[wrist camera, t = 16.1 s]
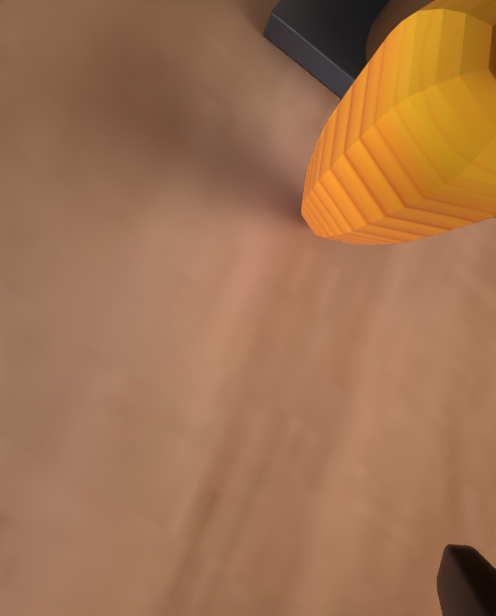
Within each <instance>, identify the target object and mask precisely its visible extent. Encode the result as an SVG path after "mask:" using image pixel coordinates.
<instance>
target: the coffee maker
mask: <svg viewBox="0 0 496 616" xmlns="http://www.w3.org/2000/svg"><path fill="white" fill-rule="evenodd" d="M433 1H435V0H280V2H279V3H278V4H277V6H276V7H275V8H274V10H273V11H272V12H271V15H270V18H269V20H268V23H267V26H266V29H265V31H264V36H265V37H266V38H268V39H269V40H270V41H271V42H273V43H274V44H275V45H276V46H278V47H279V48H280V49H281V50H283V51H284V52H285V53H286V54H287V55H289V56H290V57H291V58H292V59H294V60H295V61H296V62H297V63H299V64H300V65H301V66H302V67H304V68H305V69H306V70H307V71H309V72H310V73H311V74H312V75H314V76H315V77H316V78H317V79H319V80H320V81H321V82H322V83H323V84H325V85H326V86H327V87H328V88H330V89H331V90H332V91H333V92H335V93H336V94H337V95H338V96H340V97H341V98H342V99H343V97H344V96H345V94H346V93H347V91H348V90H349V88H350V87H351V85H352V84H353V83H354V81H355V80H356V79H357V77H358V76H359V74H360V73H361V72H362V70H363V69H364V68H365V66H366V65H367V64H368V62H369V61H370V60H371V58H372V57H373V55H374V54H375V53H376V51H377V50H378V49H379V47H380V46H381V45H382V43H383V42H384V41H385V39H386V38H387V37H388V35H389V34H390V33H391V32H392V31H393V30H394V29H395V28H396V27H397V26H398V25H399V24H400V23H401V22H402V21H403V20H405V19H406V18H408V17H409V16H411V15H412V14H414V13H415V12H417V11H419V10H420V9H422V8H423V7H425V6H427V5H428V4H430V3H431V2H433Z"/></svg>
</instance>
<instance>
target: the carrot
mask: <svg viewBox="0 0 496 616" xmlns="http://www.w3.org/2000/svg"><path fill="white" fill-rule="evenodd" d="M301 215H302V216H303V218H304V219H305V221H306V222H307V223H308V225H309V226H310V228H311V229H312V231H313V232H314V234H315V235H317V236H320V237H322V238H327V239H332V240H337V241H341V242H346V243H351V244H356V245H379V244H392V243H404V242H409V241H413V240H417V239H421V238H425V237H428V236H432V235H436V234H440V233H444V232H447V231H451V230H454V229H457V228H460V227H464V226H467V225H470V224H473V223H476V222H480V221H483V220H486V219H489V218H493V217H496V0H435V1H433V2H431V3H430V4H428V5H427V6H425V7H423V8H422V9H420V10H419V11H417V12H415V13H414V14H412V15H411V16H409V17H408V18H406V19H405V20H403V21H402V22H401V23H400V24H399V25H398V26H397V27H396V28H395V29H394V30H393V31H392V32H391V33H390V34H389V35H388V37H387V38H386V39H385V41H384V42H383V43H382V45H381V46H380V47H379V49H378V50H377V51H376V53H375V54H374V55H373V57H372V58H371V60H370V61H369V62H368V64H367V65H366V66H365V68H364V69H363V70H362V72H361V73H360V74H359V76H358V77H357V79H356V80H355V81H354V83H353V84H352V85H351V87H350V88H349V90H348V91H347V93H346V94H345V96H344V97H343V99H342V100H341V102H340V103H339V105H338V106H337V107H336V109H335V110H334V112H333V113H332V115H331V116H330V118H329V119H328V121H327V122H326V124H325V126H324V129H323V131H322V133H321V135H320V137H319V140H318V142H317V144H316V146H315V149H314V151H313V154H312V157H311V160H310V162H309V165H308V168H307V171H306V177H305V184H304V192H303V199H302V206H301Z"/></svg>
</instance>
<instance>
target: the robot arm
mask: <svg viewBox="0 0 496 616" xmlns="http://www.w3.org/2000/svg"><path fill="white" fill-rule="evenodd" d="M437 592H438V596H439V601H440V605H441V609H442V614H443V616H496V569H495V568H494V567H493V566H492V565H491V564H490V563H489V562H488V561H487V560H486V559H485V558H484V557H483V556H482V555H481V554H480V553H479V552H478V551H477V550H475V549H474V548H473V547H471V546H467V545H454V544H449V545H447V546H446V547H445V549H444V552H443V556H442V560H441V564H440V568H439V572H438V576H437Z"/></svg>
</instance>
